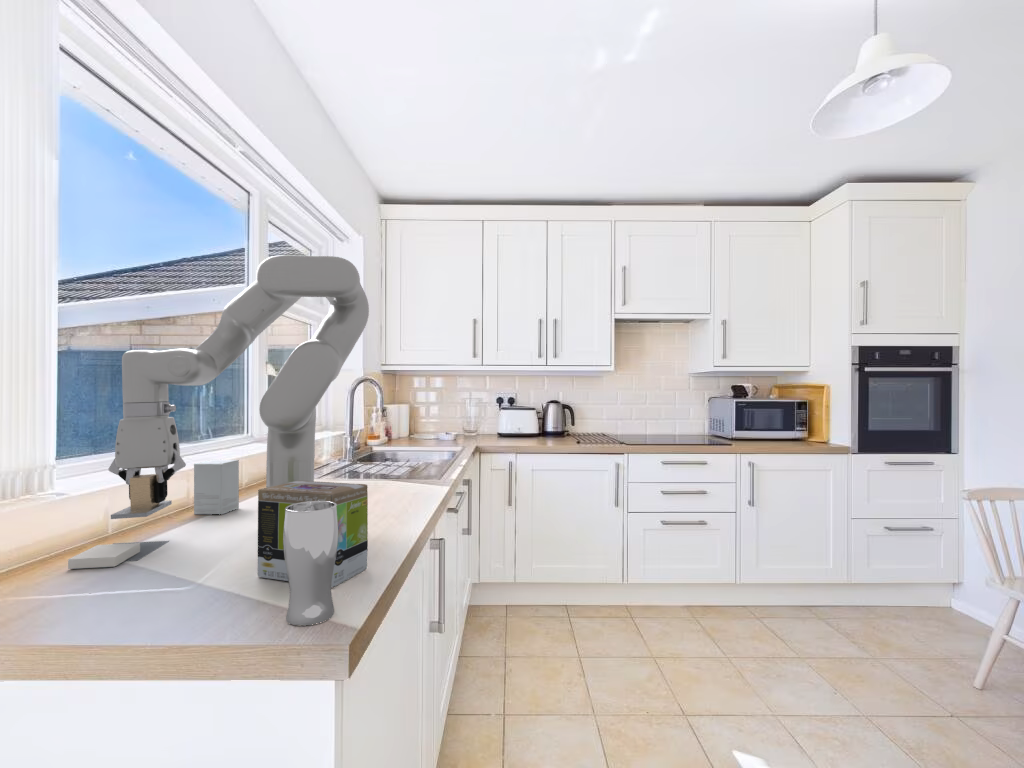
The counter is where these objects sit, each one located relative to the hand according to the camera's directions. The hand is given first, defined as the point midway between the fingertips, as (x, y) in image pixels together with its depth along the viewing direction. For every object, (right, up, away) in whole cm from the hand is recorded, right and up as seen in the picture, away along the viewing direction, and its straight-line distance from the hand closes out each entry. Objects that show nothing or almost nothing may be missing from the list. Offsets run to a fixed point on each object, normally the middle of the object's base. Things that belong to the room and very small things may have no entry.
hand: (148, 501), depth 102 cm
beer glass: (+46, -8, -33) cm, 57 cm away
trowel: (0, -1, -2) cm, 3 cm away
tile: (+1, -7, -9) cm, 11 cm away
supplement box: (-1, -9, +25) cm, 27 cm away
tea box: (+40, -8, -17) cm, 44 cm away
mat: (+1, -8, -7) cm, 11 cm away
